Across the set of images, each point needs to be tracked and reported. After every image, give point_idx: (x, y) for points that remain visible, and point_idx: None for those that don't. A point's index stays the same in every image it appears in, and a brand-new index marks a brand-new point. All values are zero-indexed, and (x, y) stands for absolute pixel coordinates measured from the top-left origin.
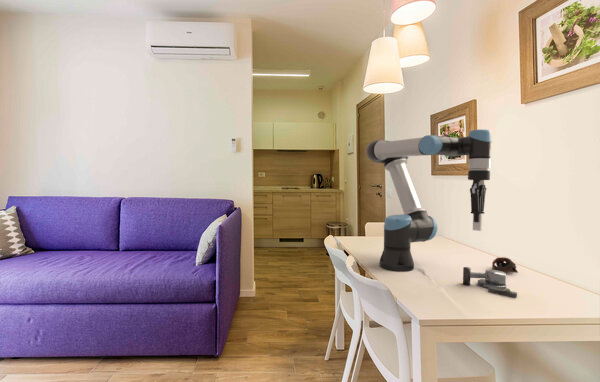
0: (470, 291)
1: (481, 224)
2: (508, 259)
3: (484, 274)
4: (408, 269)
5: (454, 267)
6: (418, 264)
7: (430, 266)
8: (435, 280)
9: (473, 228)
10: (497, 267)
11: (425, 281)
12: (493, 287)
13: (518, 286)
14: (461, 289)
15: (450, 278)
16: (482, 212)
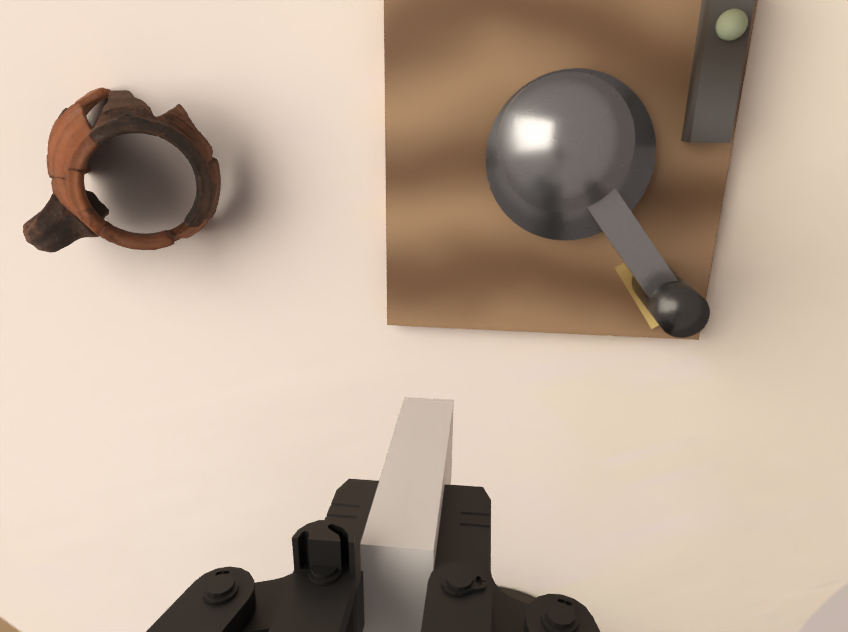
0: None
1: (394, 437)
2: (91, 151)
3: (623, 202)
4: (527, 600)
5: (243, 434)
6: None
7: None
8: (602, 441)
9: (450, 481)
10: (208, 202)
11: (660, 474)
12: (695, 120)
13: (364, 35)
14: None
15: (499, 391)
16: (353, 556)
